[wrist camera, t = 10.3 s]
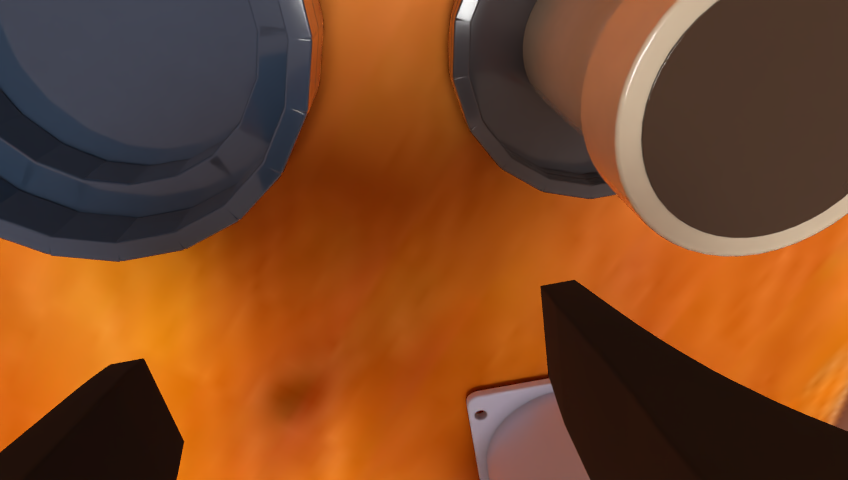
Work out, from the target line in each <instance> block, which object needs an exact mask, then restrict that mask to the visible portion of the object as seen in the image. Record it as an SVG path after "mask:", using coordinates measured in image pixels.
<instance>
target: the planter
mask: <svg viewBox="0 0 848 480" xmlns="http://www.w3.org/2000/svg"><path fill="white" fill-rule="evenodd" d="M322 23H323V16H322V12H321V8H320V3H319V0H0V238H2V239H5V240H8V241H11V242H14V243H17V244H20V245H23V246H25V247H28V248H31V249H34V250H37V251H40V252H43V253H46V254H51V255H52V256H61V257H72V258H83V259H94V260H105V261H116V262H120V261H126V260H132V259H137V258H143V257H148V256H154V255H159V254H165V253H170V252H176V251H181V250H184V249H187V248H189V247H191V246H193V245H195V244H197V243H199V242H201V241H202V240H204V239H206V238H208V237H210V236H212V235H214V234H216V233H217V232H219V231H221V230H223V229H225V228H227V227H229V226H231V225H233V224H234V223H236V222H238V221H239V219H242V218H243V217H244V216H245V215H246V214H247V212H248V211H249V210H250V209H251V208H252V207H253V206H254V205H255V204H256V203H257V202H258V200H259V199H260V198H261V197H262V196H263V195H264V194H265V193H266V192H267V191H268V190H269V188H270V187H271V186H272V185H273V184H274V183H275V182H276V181H277V180H278V179H279V178H280V176H281V174H282V173H283V172H284V170H285V167H286V165H287V162H288V160H289V158H290V155H291V153H292V151H293V148H294V146H295V143H296V141H297V139H298V136H299V134H300V132H301V129H302V127H303V124H304V122H305V120H306V117H307V115H308V112H309V110H310V108H311V105H312V103H313V100H314V98H315V95H316V93H317V91H318V88H319V86H318V85H319V83H320V71H321V57H322V43H323V29H324V26H323V24H322Z"/></svg>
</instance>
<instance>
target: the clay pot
mask: <svg viewBox="0 0 848 480" xmlns="http://www.w3.org/2000/svg"><path fill="white" fill-rule="evenodd" d="M523 60H524V67H525V71H526V74H527V77H528V79H529V82H530V84H531V86H532V88H533V89H534V91H535V92H536V94H537V95H538V96H539V97H540V99H541V100H542V101H543V102H544V103H545V104H547V105H548V106H549V107H550V108H551V109H552V110H553V111H554V112H555V113H557V114H558V115H559V116H560V117H561V118H562V119H563V120H564V121H565V122H567V123H568V124H569V125H570V126H571V127H572V128H573V129H574V130H575V131H577V132H578V133H579V134H580V135H581V136H582V137H583V138H584V140H585V144H586V148H587V151H588V153H589V156H590V158H591V160H592V163H593V165H594V166H595V168H596V170H597V171H598V173H599V175H600V176H601V178H602V179H603V180H604V181H605V182H606V183H607V185H608V186H609V187H610V188H611V189H612V190H613V191H614V192H615V193H616V194H617V195H618V196H619V197H620V198H621V199H622V200H623V201H624V202H625V203H626V204H627V205H628V206H629V207H630V208H631V209H632V210H633V212H634V213H635V214H636V215H637V216H638V217H639V218H640V219H641V220H642V221H643V222H644V223H645V224H646V225H648V226H649V227H650V228H651V229H652V230H653V231H655V232H656V233H657V234H658V235H660V236H661V237H663V238H665V239H666V240H668V241H670V242H671V243H673V244H675V245H678V246H680V247H683V248H685V249H687V250H691V251H695V252H699V253H703V254H709V255H717V256H746V255H754V254H761V253H765V252H769V251H773V250H778V249H781V248H783V247H786V246H789V245H792V244H795V243H797V242H800V241H802V240H804V239H806V238H808V237H810V236H813V235H815V234H816V233H818V232H820V231H822V230H823V229H825V228H827V227H829V226H830V225H832V224H834V223H835V222H836V221H838V220H839V219H841V218H842V217H843V216H845V215H846V214H848V0H537V2H536V3H535V5H534V7H533V9H532V11H531V13H530V16H529V19H528V21H527V24H526V28H525V33H524V39H523Z"/></svg>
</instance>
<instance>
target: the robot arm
mask: <svg viewBox="0 0 848 480" xmlns="http://www.w3.org/2000/svg"><path fill="white" fill-rule="evenodd" d="M541 297H542V308H543V319H544V331H545V342H546V354H547V365H548V376H549V378H547V379H542V380H536V381H531V382H525V383H519V384H514V385H508V386H503V387H497V388H492V389H486V390H480V391H476V392H473V393H471V394H470V395H468V397H467V399H466V404H467V410H468V416H469V421H470V427H471V433H472V439H473V444H474V450H475V456H476V461H477V467H478V473H479V479H480V480H848V431H845V430H843V429H840V428H837V427H835V426H833V425H830V424H828V423H825V422H823V421H820V420H818V419H815V418H813V417H810V416H808V415H805V414H803V413H801V412H798V411H796V410H794V409H791V408H789V407H787V406H785V405H782V404H780V403H778V402H776V401H773V400H771V399H769V398H767V397H765V396H763V395H761V394H759V393H757V392H755V391H753V390H751V389H749V388H747V387H745V386H742V385H740V384H738V383H736V382H734V381H732V380H730V379H728V378H726V377H724V376H723V375H721V374H719V373H717V372H715V371H713V370H711V369H709V368H708V367H706V366H704V365H703V364H701V363H699V362H697V361H696V360H694V359H692V358H690V357H689V356H687V355H685V354H683V353H682V352H680V351H678V350H677V349H675V348H673V347H672V346H670V345H668V344H667V343H665V342H664V341H662V340H660V339H659V338H657V337H656V336H654V335H653V334H651V333H650V332H648V331H646V330H645V329H643V328H642V327H640V326H639V325H637V324H636V323H634V322H633V321H632V320H630V319H629V318H627V317H626V316H624V315H623V314H621V313H620V312H619V311H617V310H616V309H614V308H613V307H612V306H610V305H609V304H607V303H606V302H605V301H603V300H602V299H600V298H599V297H598V296H596V295H595V294H594V293H592V292H591V291H589V290H588V289H587V288H585V287H584V286H582V285H581V284H580V283H578V282H577V281H575V280H571V281H566V282H560V283H555V284H549V285H544V286H541ZM480 410H483V411H484V412H482V413H476V412H477V411H480ZM183 444H184V441H183V438H182V436H181V434H180V432H179V430H178V428H177V426H176V424H175V422H174V420H173V418H172V416H171V414H170V412H169V410H168V408H167V405H166V403H165V401H164V399H163V397H162V395H161V393H160V391H159V389H158V387H157V385H156V383H155V381H154V379H153V377H152V374H151V372H150V370H149V368H148V366H147V364H146V362H145V360H144V359H138V360H133V361H127V362H122V363H116V364H111V365H109V366H108V367H106V368H105V369H103V370H102V371H100V372H99V373H98V374H96V375H95V376H93V377H92V378H91V379H90V380H88V381H87V382H86V383H84V384H83V385H82V386H81V387H79V388H78V389H77V390H76V391H74V392H73V393H72V394H71V395H69V396H68V397H67V398H66V399H64V400H63V401H62V402H61V403H60V404H58V405H57V406H56V407H55V408H54V409H52V410H51V411H50V412H49V413H48V414H46V415H45V416H44V417H43V418H41V419H40V420H39V421H38V422H37V423H35V424H34V425H33V426H32V427H31V428H29V429H28V430H27V431H26V432H25V433H23V434H22V435H21V436H20V437H18V438H17V439H16V440H15V441H14V442H12V443H11V444H10V445H9V446H8V447H6V448H5V449H4V450H3V451H1V452H0V480H176V479H177V475H178V470H179V465H180V460H181V455H182V449H183Z"/></svg>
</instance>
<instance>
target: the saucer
mask: <svg viewBox="0 0 848 480" xmlns="http://www.w3.org/2000/svg"><path fill="white" fill-rule="evenodd" d="M536 2H537V0H455V1H454V4H453V8H452V12H451V17H450V25H449V38H448V56H449V72H450V73H449V75H450V78H451V81H452V84H453V89H454V91H455V94H456V97H457V100H458V103H459V106H460V108H461V111H462V115H463V118H464V120H465V122H466V124H467V126H468V128H469V130H470V132H471V133H472V134H473V135H474V137H475V138H476V139H477V140H478V142H479V143H480V144H481V145H482V146H483V148H484V149H485V150H486V151H487V153H488V154H489V155H490V156H491V158H492V159H493V160H494V161H495V162H496V164H497V165H498V166H499V167H500V168H501V169H502V170H504V171H506V172H508V173H509V174H511V175H513V176H515V177H516V178H518V179H520V180H522V181H524V182H525V183H527V184H529V185H531V186H532V187H534V188H536V189H538V190H540V191H543V192H546V193H553V194H559V195H566V196H572V197H579V198H586V199H594V198H600V197H605V196H611V195H616V193H615V192H614V191H613V190H612V189H611V188H610V187H609V186H608V185H607V183H606V182H605V181H604V180H603V179H602V178H601V176H600V175H599V173H598V171H597V170H596V168H595V166H594V165H593V163H592V160H591V158H590V156H589V153H588V151H587V148H586V144H585V140H584V138H583V137H582V136H581V135H580V134H579V133H578V132H577V131H575V130H574V129H573V128H572V127H571V126H570V125H569V124H568V123H567V122H565V121H564V120H563V119H562V118H561V117H560V116H559V115H558V114H557V113H555V112H554V111H553V110H552V109H551V108H550V107H549V106H548V105H547V104H545V103H544V102H543V101H542V100H541V99H540V97H539V96H538V95H537V94H536V92H535V91H534V89H533V88H532V86H531V84H530V82H529V79H528V77H527V74H526V71H525V67H524V60H523V39H524V33H525V28H526V24H527V21H528V19H529V16H530V13H531V11H532V9H533V7H534V5H535V3H536Z"/></svg>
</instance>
